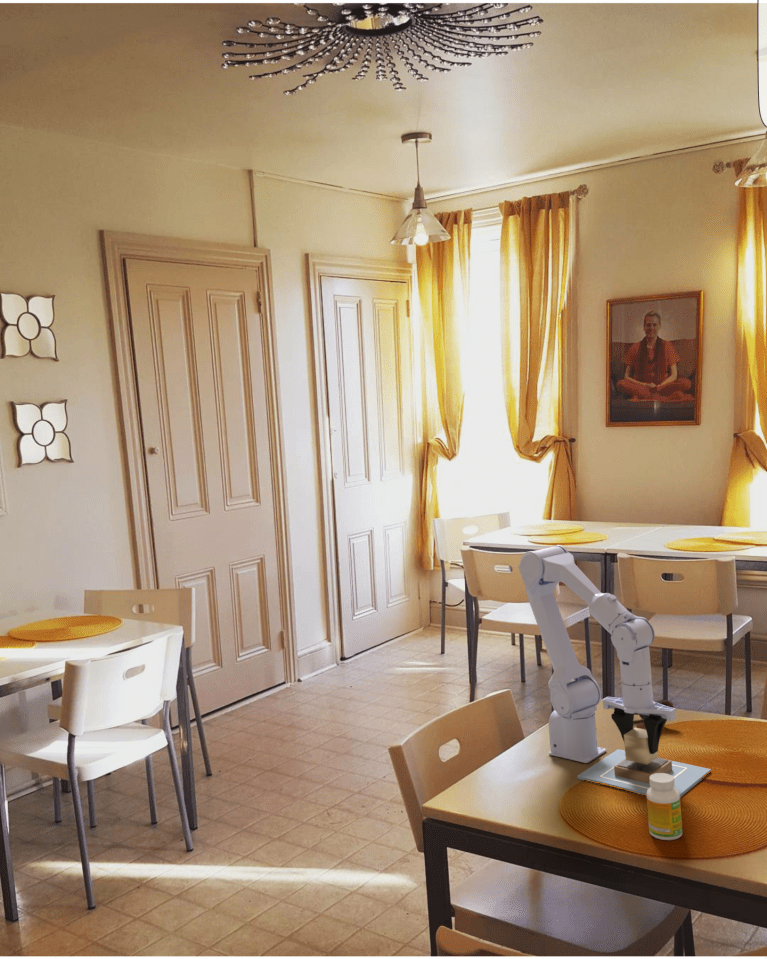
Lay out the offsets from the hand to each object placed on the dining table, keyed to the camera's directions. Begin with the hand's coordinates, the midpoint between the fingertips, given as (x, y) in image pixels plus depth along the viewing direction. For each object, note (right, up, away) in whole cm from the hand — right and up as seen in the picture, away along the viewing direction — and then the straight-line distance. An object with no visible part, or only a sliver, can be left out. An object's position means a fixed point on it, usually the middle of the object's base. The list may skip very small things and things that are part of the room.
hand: (641, 749), depth 169 cm
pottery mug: (+9, -3, +26) cm, 27 cm away
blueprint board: (0, -5, 0) cm, 5 cm away
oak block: (0, -2, 0) cm, 2 cm away
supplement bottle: (-3, -7, -23) cm, 24 cm away
